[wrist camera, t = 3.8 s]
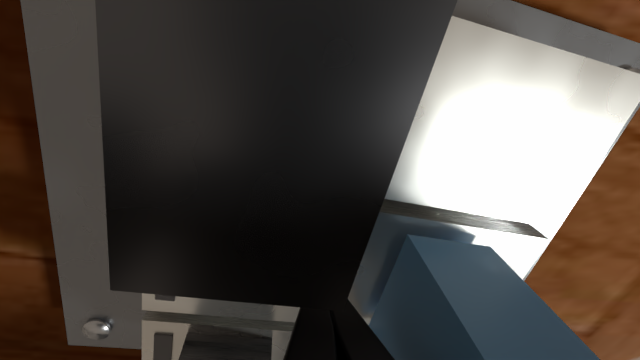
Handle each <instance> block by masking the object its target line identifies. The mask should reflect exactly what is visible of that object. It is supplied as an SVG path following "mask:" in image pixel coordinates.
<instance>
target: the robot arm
mask: <svg viewBox="0 0 640 360" xmlns="http://www.w3.org/2000/svg"><path fill="white" fill-rule="evenodd" d="M283 360H395V359H394V358H393V356H392V355H391V354H390V353H389V351H388V350H387V349H386V347H385V346H384V345H383V343H382V342H381V341H380V340H379V338H378V337H377V336H376V334H375V333H374V332H373V331H372V329H371V328H370V327H369V325H368V324H367V323H366V322H365V320H364V319H363V318H362V316H361V315H360V314H359V313H358V311H357V310H356V309H355V307H354V306H353V305H352V304H351V302H350V301H349V300H348V299H347V301H346V304H345V307H344V310H343V311H333V310H322V309H311V308H300V309H299V312H298V315H297V318H296V321H295V324H294V327H293V331H292V334H291V337H290V340H289V343H288V346H287V349H286V352H285V355H284V358H283Z"/></svg>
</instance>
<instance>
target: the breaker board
mask: <svg viewBox="0 0 640 360" xmlns="http://www.w3.org/2000/svg"><path fill="white" fill-rule="evenodd" d="M20 1H21V8H22V15H23V23H24V30H25V37H26V44H27V52H28V59H29V66H30V73H31V80H32V88H33V95H34V102H35V109H36V116H37V124H38V131H39V138H40V145H41V153H42V160H43V167H44V174H45V181H46V189H47V196H48V203H49V210H50V217H51V225H52V232H53V239H54V246H55V254H56V261H57V268H58V275H59V282H60V290H61V297H62V304H63V311H64V318H65V326H66V333H67V340H68V345H78V346H95V347H113V348H130V349H142V360H283V358H284V355H285V352H286V349H287V346H288V343H289V340H290V337H291V334H292V331H293V327H294V324H295V321H296V318H297V315H298V312H299V309H300V308H311V309H322V310H333V311H343V310H344V307H345V304H346V301H347V299H348V300H349V301H350V302H351V304H352V305H353V306H354V307H355V309H356V310H357V311H358V313H359V314H360V315H361V316H362V318H363V319H364V320H365V322H366V323H367V324H368V325H369V323H370V321H371V319H372V316H373V314H374V312H375V309H376V307H377V305H378V302H379V300H380V298H381V295H382V293H383V290H384V288H385V286H386V283H387V281H388V279H389V276H390V274H391V272H392V269H393V267H394V265H395V262H396V260H397V258H398V255H399V253H400V251H401V248H402V246H403V244H404V241H405V239H406V237H407V234H409V235H415V236H422V237H429V238H436V239H442V240H449V241H456V242H463V243H469V244H476V245H483V246H490V247H491V248H492V249H493V250H494V251H495V252H496V253H497V254H498V255H499V256H500V257H501V258H502V259H503V260H504V261H505V262H506V263H507V264H508V265H509V266H510V267H511V268H512V269H513V270H514V271H515V272H516V273H517V275H518V276H519V277H520V278H521V279H522V280H523V281H525V279H526V277H527V276H528V274H529V273H530V271H531V270H532V268H533V267H534V265H535V264H536V262H537V261H538V259H539V258H540V256H541V255H542V253H543V252H544V250H545V249H546V247H547V246H548V244H549V243H550V241H551V240H552V238H553V237H554V235H555V234H556V232H557V231H558V229H559V228H560V226H561V225H562V223H563V222H564V220H565V219H566V217H567V216H568V214H569V212H570V211H571V209H572V208H573V206H574V205H575V203H576V202H577V200H578V199H579V197H580V196H581V194H582V193H583V191H584V190H585V188H586V187H587V185H588V184H589V182H590V181H591V179H592V178H593V176H594V175H595V173H596V172H597V170H598V169H599V167H600V166H601V164H602V163H603V161H604V160H605V158H606V157H607V155H608V154H609V152H610V151H611V149H612V147H613V146H614V144H615V143H616V141H617V140H618V138H619V137H620V135H621V134H622V132H623V131H624V129H625V128H626V126H627V125H628V123H629V122H630V120H631V119H632V117H633V116H634V114H635V113H636V111H637V110H638V108H639V107H640V43H637V42H634V41H631V40H628V39H625V38H622V37H619V36H616V35H613V34H610V33H607V32H604V31H601V30H598V29H595V28H592V27H589V26H586V25H583V24H580V23H577V22H574V21H571V20H568V19H565V18H562V17H559V16H556V15H553V14H550V13H547V12H544V11H541V10H538V9H535V8H532V7H529V6H526V5H523V4H520V3H517V2H514V1H511V0H20Z"/></svg>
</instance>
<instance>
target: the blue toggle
mask: <svg viewBox="0 0 640 360" xmlns="http://www.w3.org/2000/svg"><path fill="white" fill-rule="evenodd" d="M369 327H370V328H371V329H372V331H373V332H374V333H375V334H376V336H377V337H378V338H379V340H380V341H381V342H382V343H383V345H384V346H385V347H386V349H387V350H388V351H389V353H390V354H391V355H392V356H393V358H394V359H395V360H600V359H599V358H598V357H597V356H596V355H595V354H594V353H593V352H592V351H591V350H590V349H589V348H588V347H587V346H586V345H585V344H584V343H583V342H582V340H581V339H580V338H579V337H578V336H577V335H576V334H575V333H574V332H573V331H572V330H571V329H570V328H569V327H568V326H567V325H566V324H565V323H564V322H563V321H562V320H561V319H560V318H559V317H558V316H557V315H556V314H555V313H554V312H553V311H552V310H551V309H550V307H549V306H548V305H547V304H546V303H545V302H544V301H543V300H542V299H541V298H540V297H539V296H538V295H537V294H536V293H535V292H534V291H533V290H532V289H531V288H530V287H529V286H528V285H527V284H526V283H525V282H524V281H523V280H522V279H521V278H520V277H519V276H518V275H517V273H516V272H515V271H514V270H513V269H512V268H511V267H510V266H509V265H508V264H507V263H506V262H505V261H504V260H503V259H502V258H501V257H500V256H499V255H498V254H497V253H496V252H495V251H494V250H493V249H492V248H491V247H490V246H483V245H476V244H469V243H463V242H456V241H449V240H442V239H436V238H429V237H422V236H415V235H409V234H407V237H406V239H405V241H404V244H403V246H402V248H401V251H400V253H399V255H398V258H397V260H396V262H395V265H394V267H393V269H392V272H391V274H390V276H389V279H388V281H387V283H386V286H385V288H384V290H383V293H382V295H381V298H380V300H379V302H378V305H377V307H376V309H375V312H374V314H373V316H372V319H371V321H370V323H369Z"/></svg>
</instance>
